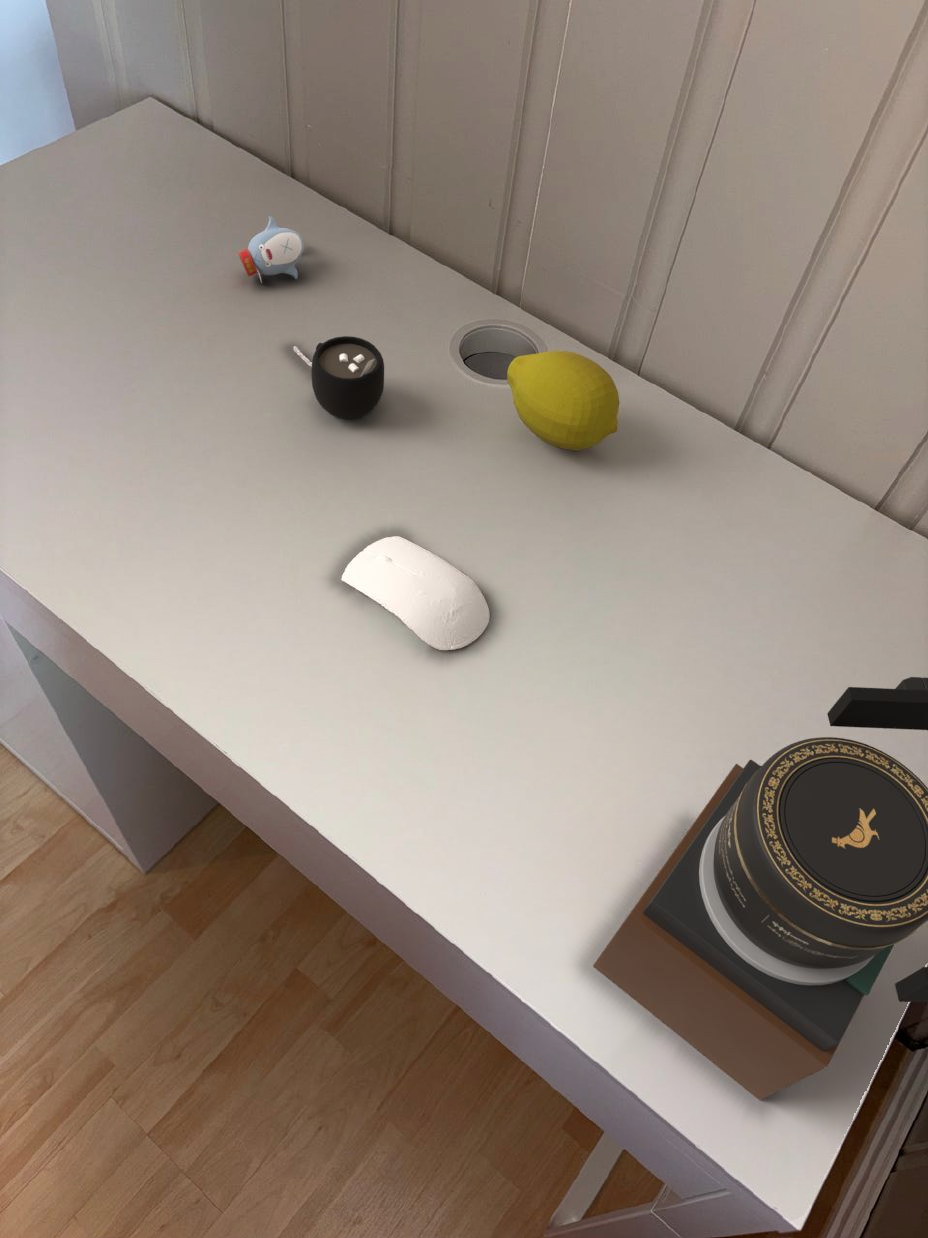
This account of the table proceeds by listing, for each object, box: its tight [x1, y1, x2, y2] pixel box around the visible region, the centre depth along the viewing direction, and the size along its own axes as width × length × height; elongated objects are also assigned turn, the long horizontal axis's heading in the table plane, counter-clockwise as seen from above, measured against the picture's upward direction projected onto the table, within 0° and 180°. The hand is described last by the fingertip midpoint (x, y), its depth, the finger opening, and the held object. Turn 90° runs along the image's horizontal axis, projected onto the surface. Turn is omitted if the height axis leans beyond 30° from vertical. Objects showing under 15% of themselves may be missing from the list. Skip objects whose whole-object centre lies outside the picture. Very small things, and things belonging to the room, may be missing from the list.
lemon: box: [506, 350, 621, 451], centre depth 84 cm, size 11×8×8 cm
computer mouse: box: [340, 535, 490, 651], centre depth 75 cm, size 7×12×2 cm, turn 49°
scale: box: [592, 759, 895, 1101], centre depth 57 cm, size 12×12×13 cm
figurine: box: [237, 215, 305, 284], centre depth 96 cm, size 5×8×4 cm
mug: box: [292, 335, 385, 420], centre depth 85 cm, size 12×6×8 cm, turn 40°
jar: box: [713, 736, 928, 969], centre depth 49 cm, size 10×10×8 cm
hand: (871, 834), depth 46 cm, fingers open, 13 cm apart
